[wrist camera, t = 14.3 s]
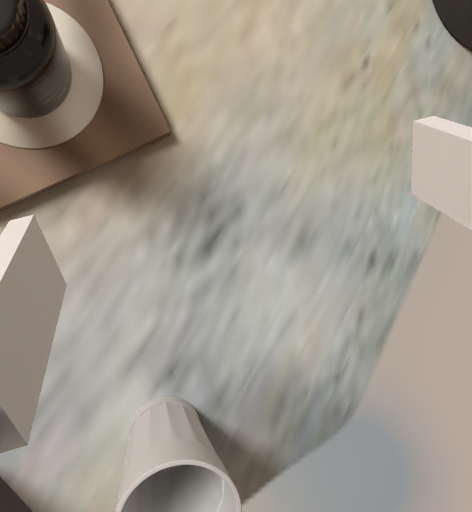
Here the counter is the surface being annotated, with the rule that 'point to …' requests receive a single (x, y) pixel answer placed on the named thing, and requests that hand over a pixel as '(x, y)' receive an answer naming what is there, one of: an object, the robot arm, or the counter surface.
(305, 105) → the counter surface
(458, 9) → the robot arm
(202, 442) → the cup
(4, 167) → the walnut board
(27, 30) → the supplement bottle
